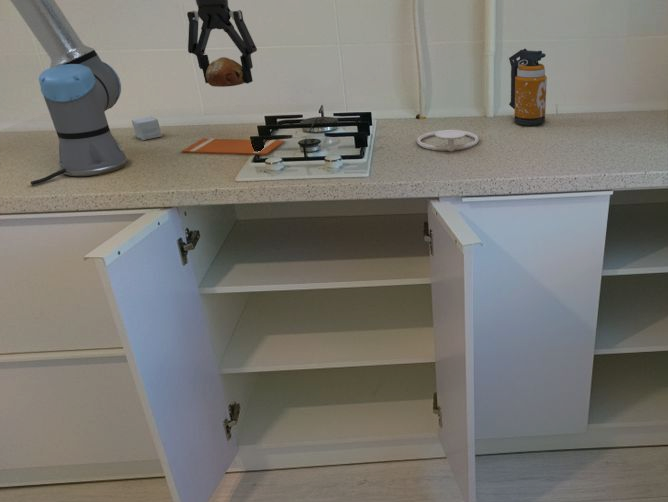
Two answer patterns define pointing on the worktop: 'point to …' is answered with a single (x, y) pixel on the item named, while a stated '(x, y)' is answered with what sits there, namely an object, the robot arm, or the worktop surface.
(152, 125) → the small box
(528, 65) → the canister
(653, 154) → the worktop surface
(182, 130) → the worktop surface
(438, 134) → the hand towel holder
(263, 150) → the tea towel
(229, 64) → the bread roll
